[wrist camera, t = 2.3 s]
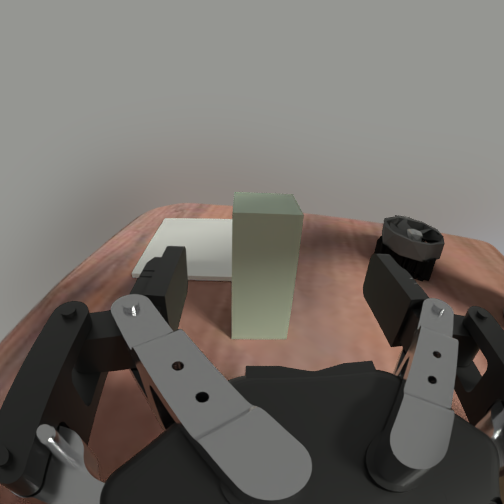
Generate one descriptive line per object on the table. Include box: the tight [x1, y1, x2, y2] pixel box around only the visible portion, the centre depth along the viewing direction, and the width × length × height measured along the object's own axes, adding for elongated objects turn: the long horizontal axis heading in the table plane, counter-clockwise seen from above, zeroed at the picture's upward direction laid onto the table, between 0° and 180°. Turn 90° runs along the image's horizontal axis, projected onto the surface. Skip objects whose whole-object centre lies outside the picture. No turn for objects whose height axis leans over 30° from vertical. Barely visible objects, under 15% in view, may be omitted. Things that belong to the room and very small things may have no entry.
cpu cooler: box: [374, 215, 444, 281], centre depth 39 cm, size 10×6×10 cm
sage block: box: [232, 192, 304, 339], centre depth 25 cm, size 5×5×12 cm
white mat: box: [132, 218, 232, 281], centre depth 42 cm, size 18×18×1 cm
